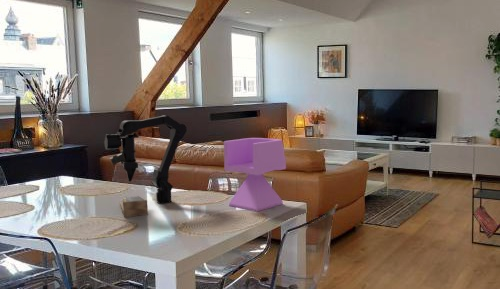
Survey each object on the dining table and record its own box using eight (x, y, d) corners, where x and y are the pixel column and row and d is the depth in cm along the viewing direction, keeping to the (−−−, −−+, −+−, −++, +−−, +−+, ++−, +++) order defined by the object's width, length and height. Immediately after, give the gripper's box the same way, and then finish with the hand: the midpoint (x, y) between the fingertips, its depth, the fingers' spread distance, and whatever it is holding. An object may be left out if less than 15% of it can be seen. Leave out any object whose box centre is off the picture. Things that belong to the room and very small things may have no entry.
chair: (225, 206, 228) (223, 141, 225) (254, 198, 243) (253, 137, 239) (257, 212, 215) (256, 143, 211) (286, 204, 229) (285, 139, 226)
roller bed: (141, 203, 237) (140, 196, 237) (147, 213, 217) (146, 205, 217) (119, 205, 234) (119, 198, 234) (123, 216, 214) (123, 208, 213)
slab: (138, 200, 228) (138, 195, 228) (146, 205, 218) (146, 200, 218) (125, 201, 226) (125, 197, 225) (132, 206, 215) (132, 202, 215)
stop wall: (147, 213, 217) (146, 199, 217) (147, 214, 216) (147, 200, 215) (123, 215, 214) (122, 202, 214) (124, 216, 212) (123, 203, 212)
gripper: (109, 146, 235) (110, 179, 237) (111, 151, 217) (113, 186, 219) (133, 145, 239) (134, 177, 240) (137, 149, 221) (139, 184, 223)
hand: (129, 181), depth 230 cm, fingers closed
